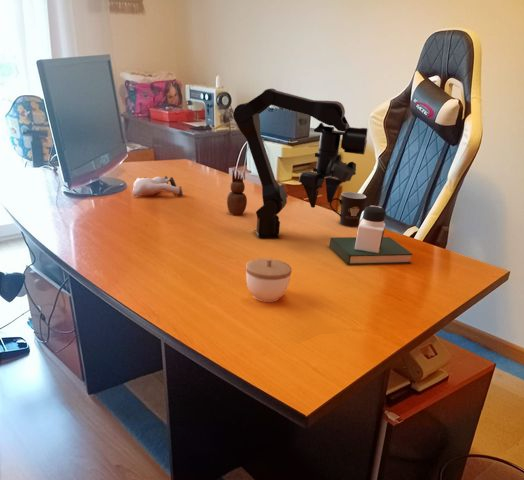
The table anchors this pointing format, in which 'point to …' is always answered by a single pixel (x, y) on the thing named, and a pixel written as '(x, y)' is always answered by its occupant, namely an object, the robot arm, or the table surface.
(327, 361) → the table surface
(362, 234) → the medicine bottle
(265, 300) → the trinket box
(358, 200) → the coffee mug
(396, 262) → the book
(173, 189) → the yeti figurine
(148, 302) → the table surface
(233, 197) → the wooden figurine
